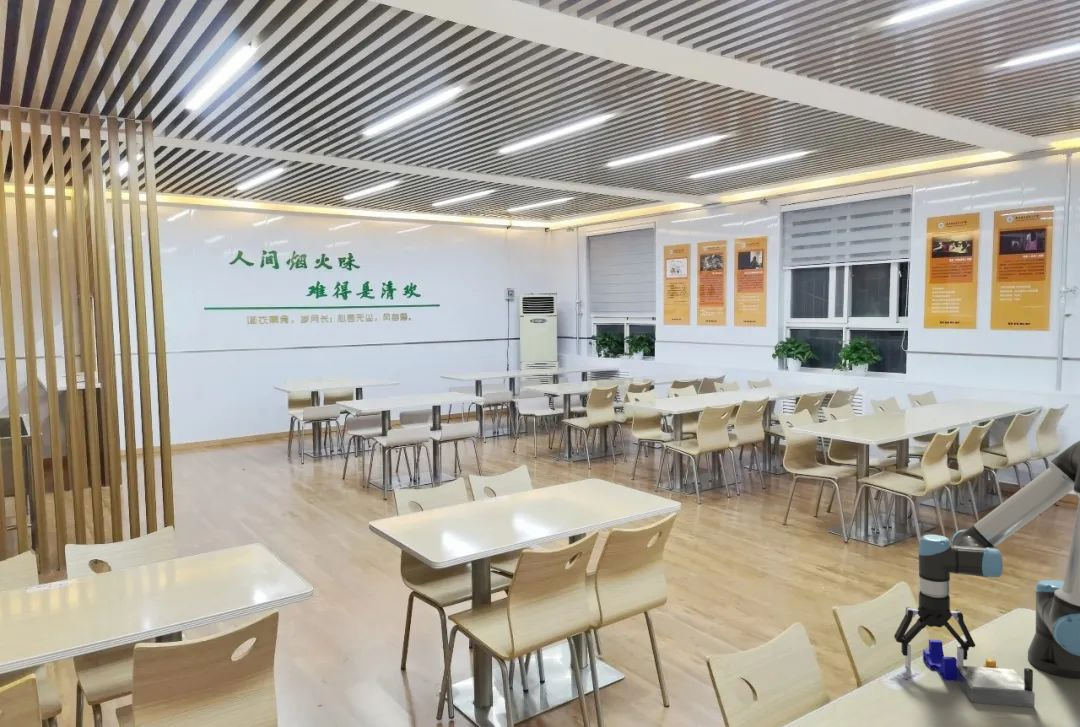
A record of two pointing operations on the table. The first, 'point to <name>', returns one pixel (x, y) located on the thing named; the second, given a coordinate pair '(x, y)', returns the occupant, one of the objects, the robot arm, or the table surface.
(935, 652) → the cable clip
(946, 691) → the table surface
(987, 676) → the grey square plate
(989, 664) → the chess pawn
